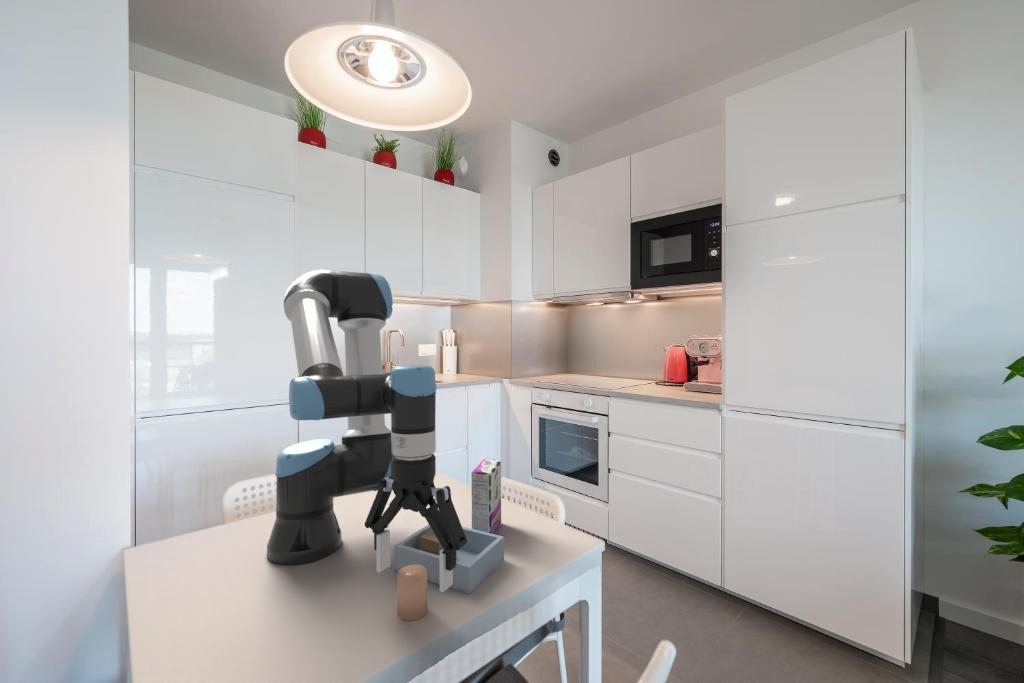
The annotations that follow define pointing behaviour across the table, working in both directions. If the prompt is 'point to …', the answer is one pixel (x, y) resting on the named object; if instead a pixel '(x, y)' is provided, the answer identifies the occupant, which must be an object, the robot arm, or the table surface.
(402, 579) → the peach rounded cylinder
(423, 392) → the robot arm
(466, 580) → the tote
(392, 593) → the table surface
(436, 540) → the walnut cube
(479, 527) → the candy bar box
